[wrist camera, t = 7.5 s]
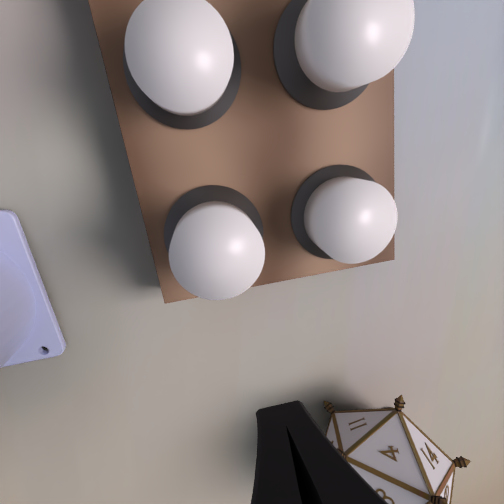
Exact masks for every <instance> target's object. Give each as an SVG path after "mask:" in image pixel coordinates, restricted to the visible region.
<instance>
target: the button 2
mask: <svg viewBox="0 0 504 504" xmlns="http://www.w3.org/2000/svg"><path fill="white" fill-rule="evenodd" d="M264 260H265V247H264V243H263V240H262V237H261V235H260V233H259V231H258V230H257V228H256V227H255V225H254V224H253V222H252V221H251V219H250V218H249V217H248V216H247V214H246V213H245V212H243V211H242V210H241V209H239V208H238V207H236V206H234V205H232V204H229V203H226V202H220V201H212V202H205V203H202V204H199V205H197V206H195V207H193V208H191V209H190V210H189V211H187V212H186V213H185V214H184V215H183V216H182V218H181V219H180V220H179V222H178V224H177V226H176V228H175V231H174V234H173V237H172V240H171V243H170V247H169V263H170V267H171V270H172V273H173V275H174V277H175V278H176V280H177V281H178V283H179V284H180V285H181V286H182V287H183V288H184V289H185V290H187V291H188V292H190V293H191V294H193V295H195V296H198V297H200V298H204V299H208V300H224V299H229V298H232V297H235V296H237V295H239V294H241V293H243V292H244V291H246V290H247V289H248V288H249V287H251V286H252V285H253V283H254V282H255V281H256V280H257V278H258V277H259V275H260V273H261V271H262V268H263V265H264Z"/></svg>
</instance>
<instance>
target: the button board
mask: <svg viewBox="0 0 504 504" xmlns="http://www.w3.org/2000/svg"><path fill="white" fill-rule="evenodd" d="M88 1H89V5H90V9H91V13H92V17H93V21H94V25H95V29H96V33H97V37H98V41H99V45H100V49H101V53H102V57H103V61H104V65H105V69H106V73H107V77H108V81H109V85H110V89H111V92H112V96H113V100H114V104H115V108H116V112H117V116H118V120H119V124H120V128H121V132H122V136H123V140H124V144H125V148H126V152H127V156H128V160H129V164H130V168H131V172H132V176H133V180H134V184H135V187H136V191H137V195H138V199H139V203H140V207H141V211H142V215H143V219H144V223H145V227H146V231H147V235H148V239H149V243H150V247H151V251H152V255H153V259H154V263H155V267H156V271H157V275H158V279H159V282H160V286H161V290H162V294H163V298H164V302H165V303H170V302H176V301H181V300H186V299H191V298H196V297H198V296H195V295H193V294H191V293H190V292H188V291H187V290H185V289H184V288H183V287H182V286H181V285H180V284H179V283H178V281H177V280H176V278H175V277H174V275H173V273H172V270H171V267H170V263H169V247H170V243H171V240H172V237H173V234H174V231H175V228H176V226H177V224H178V222H179V220H180V219H181V218H182V216H183V215H184V214H185V213H186V212H187V211H189V210H190V209H191V208H193V207H195V206H197V205H199V204H202V203H205V202H212V201H220V202H226V203H229V204H232V205H234V206H236V207H238V208H239V209H241V210H242V211H243V212H245V213H246V214H247V216H248V217H249V218H250V219H251V221H252V222H253V224H254V225H255V227H256V228H257V230H258V231H259V233H260V235H261V237H262V240H263V243H264V247H265V260H264V265H263V268H262V271H261V273H260V275H259V277H258V278H257V280H256V281H255V282H254V283H253V285H252V286H251V287H254V286H259V285H264V284H269V283H274V282H280V281H285V280H290V279H295V278H300V277H306V276H311V275H316V274H321V273H326V272H332V271H337V270H342V269H347V268H353V267H358V266H363V265H368V264H373V263H379V262H384V261H389V260H394V235H393V237H392V239H391V241H390V242H389V244H388V245H387V246H386V247H385V249H384V250H383V251H382V252H380V253H379V254H378V255H377V256H375V257H374V258H372V259H370V260H367V261H365V262H361V263H356V264H347V263H342V262H339V261H336V260H334V259H333V258H331V257H330V256H329V255H327V254H326V253H325V252H324V251H323V250H322V249H320V248H319V247H318V246H317V245H316V244H315V243H313V242H312V240H311V239H310V238H309V236H308V234H307V232H306V230H305V226H304V210H305V206H306V204H307V201H308V199H309V197H310V196H311V194H312V193H313V192H314V190H315V189H316V188H317V187H318V186H320V185H321V184H322V183H324V182H326V181H327V180H330V179H332V178H336V177H342V176H345V177H353V178H358V179H363V180H368V181H373V182H375V183H378V184H380V185H382V186H383V187H384V188H386V190H387V191H388V192H389V193H390V194H391V196H392V197H393V199H394V69H392V70H391V71H390V72H389V73H388V74H386V75H385V76H384V77H382V78H380V79H378V80H376V81H373V82H370V83H368V84H365V85H363V86H360V87H358V88H355V89H352V90H350V91H345V92H331V91H327V90H324V89H322V88H320V87H318V86H317V85H315V84H314V83H313V82H311V81H310V79H309V78H308V77H307V76H306V75H305V73H304V72H303V70H302V68H301V67H300V64H299V62H298V59H297V55H296V51H295V29H296V24H297V20H298V17H299V15H300V13H301V10H302V8H303V7H304V5H305V3H306V2H307V1H308V0H206V1H207V2H208V3H209V4H211V5H212V6H213V7H214V8H215V9H216V10H217V12H218V13H219V14H220V16H221V17H222V18H223V20H224V22H225V24H226V26H227V28H228V30H229V33H230V36H231V39H232V44H233V51H234V63H233V69H232V73H231V77H230V79H229V82H228V84H227V87H226V89H225V91H224V93H223V95H222V97H221V98H220V99H219V101H218V102H217V103H216V104H215V105H214V106H213V107H211V108H210V109H209V110H207V111H205V112H203V113H200V114H197V115H192V116H182V115H176V114H173V113H170V112H168V111H166V110H164V109H162V108H161V107H159V106H158V105H157V104H155V103H154V102H153V101H152V100H151V99H150V98H149V97H148V96H147V95H146V94H145V93H144V92H143V91H142V90H141V89H140V87H139V86H138V85H137V83H136V82H135V80H134V78H133V77H132V75H131V72H130V70H129V67H128V64H127V61H126V55H125V33H126V28H127V25H128V22H129V20H130V18H131V16H132V14H133V12H134V11H135V9H136V8H137V7H138V6H139V5H140V3H141V2H142V1H144V0H88Z"/></svg>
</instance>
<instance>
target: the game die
mask: <svg viewBox="0 0 504 504" xmlns="http://www.w3.org/2000/svg"><path fill="white" fill-rule="evenodd" d="M404 404H405V402H404V400H403V397H402V395H400V396H399V397H398V398H396V399H395V403H394V405H395V408H385V409H366V410H347V411H335V410H334V408H333V407H334V406H332V405H331V403H329V402H326V401H324V405H325V407H324V408H325V409H327V411H328V412H330V413H331V417H330V421H329V424H328V428H327V431H326V435H325V436H326V437H327V438H328V439H329V440H330V442H331V443H332V444H333V445H334V446H335V448H336V449H337V450H338V451H339V452H340V453H341V455H342V456H343V457H344V458H345V459H346V460H347V461H348V463H349V464H350V465H351V466H352V467H353V468H354V469H355V470H356V471H357V472H358V473H359V475H360V476H361V477H362V478H363V479H364V480H365V481H366V482H367V483H368V484H369V485H370V486H371V487H372V488H373V489H374V490H375V491H376V492H377V493H378V494H379V495H380V496H381V497H382V498H383V499H384V500H385V501H386V502H387V503H388V504H451V498H452V490H453V482H454V474H455V467H460V468H462V467H467V465H468V464H469V463H470V460H467V459H465V458H463V457H462V456H460V457H459V458H457V457H456V459H454V460H452V459H451V458H450V457H449V456H448V455H446V454H445V453H444V452H443V451H442V450H441V449H440V448H439V447H438V446H437V445H436V444H435V443H434V442H433V441H432V440H431V439H430V438H429V437H428V436H427V435H426V434H425V433H424V432H423V431H422V430H420V429H419V428H418V427H417V426H416V425H415V424H414V423H413V422H412V421H411V420H410V419H409V418H408V417H407V416H406V415H405V414H404V413H403V412H402V411H401V410H402V408H404Z"/></svg>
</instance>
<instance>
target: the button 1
mask: <svg viewBox="0 0 504 504" xmlns="http://www.w3.org/2000/svg"><path fill="white" fill-rule="evenodd" d="M125 55H126V61H127V64H128V67H129V70H130V72H131V75H132V77H133V78H134V80H135V82H136V83H137V85H138V86H139V87H140V89H141V90H142V91H143V92H144V93H145V94H146V95H147V96H148V97H149V98H150V99H151V100H152V101H153V102H154V103H155V104H157V105H158V106H159V107H161V108H162V109H164V110H166V111H168V112H170V113H173V114H176V115H182V116H192V115H197V114H200V113H203V112H205V111H207V110H209V109H210V108H211V107H213V106H214V105H215V104H216V103H217V102H218V101H219V99H220V98H221V97H222V95H223V93H224V91H225V89H226V87H227V84H228V82H229V79H230V77H231V73H232V69H233V63H234V51H233V44H232V39H231V36H230V33H229V30H228V28H227V26H226V24H225V22H224V20H223V18H222V17H221V16H220V14H219V13H218V12H217V10H216V9H215V8H214V7H213V6H212V5H211V4H209V3H208V2H207V1H206V0H144V1H142V2H141V3H140V5H139V6H138V7H137V8H136V9H135V11H134V12H133V14H132V16H131V18H130V20H129V22H128V25H127V28H126V33H125Z"/></svg>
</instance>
